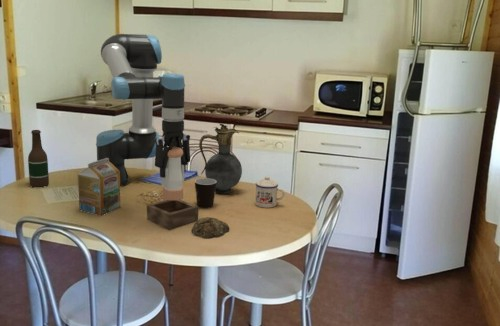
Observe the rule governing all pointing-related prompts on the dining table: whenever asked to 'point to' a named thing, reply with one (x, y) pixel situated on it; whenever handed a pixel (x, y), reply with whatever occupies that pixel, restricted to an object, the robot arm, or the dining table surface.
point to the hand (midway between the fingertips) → (172, 183)
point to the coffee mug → (205, 192)
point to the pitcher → (222, 161)
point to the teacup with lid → (267, 193)
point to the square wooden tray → (172, 213)
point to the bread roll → (210, 228)
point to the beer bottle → (38, 162)
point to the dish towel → (157, 179)
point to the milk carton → (99, 188)
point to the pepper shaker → (174, 175)
